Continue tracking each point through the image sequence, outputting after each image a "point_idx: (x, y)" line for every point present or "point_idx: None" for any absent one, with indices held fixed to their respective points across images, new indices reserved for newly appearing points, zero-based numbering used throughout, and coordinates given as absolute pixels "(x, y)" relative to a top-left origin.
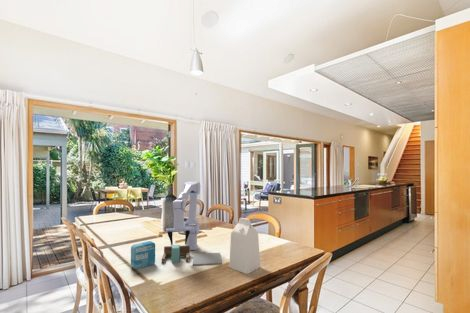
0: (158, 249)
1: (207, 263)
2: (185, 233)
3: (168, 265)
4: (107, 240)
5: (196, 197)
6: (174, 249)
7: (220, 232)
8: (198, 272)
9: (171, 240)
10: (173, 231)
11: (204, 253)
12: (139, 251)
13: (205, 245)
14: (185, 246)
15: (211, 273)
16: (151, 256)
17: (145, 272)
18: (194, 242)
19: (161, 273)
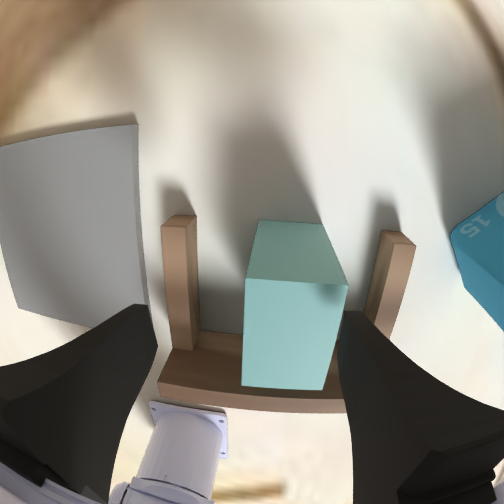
0: None
1: (42, 137)
2: (5, 402)
3: (347, 168)
4: (497, 468)
5: None
6: (307, 274)
7: (112, 489)
8: (106, 13)
9: (383, 354)
10: None
11: (84, 323)
12: None
13: (124, 430)
14: (194, 386)
15: (45, 15)
16: (501, 240)
17: (488, 93)
18: (155, 442)
19: (385, 27)
